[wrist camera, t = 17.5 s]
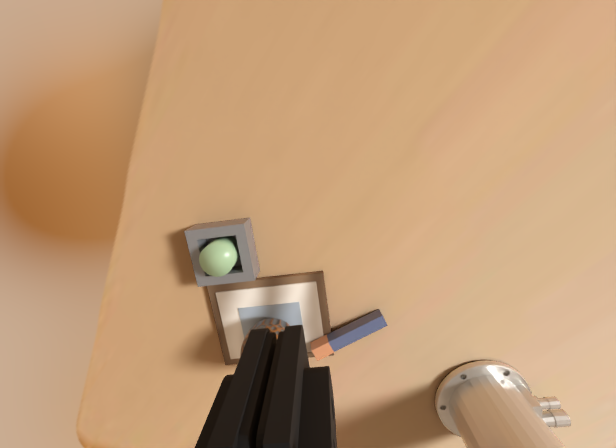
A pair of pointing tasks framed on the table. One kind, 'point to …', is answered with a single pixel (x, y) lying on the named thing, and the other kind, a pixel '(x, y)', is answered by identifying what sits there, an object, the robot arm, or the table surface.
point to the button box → (243, 234)
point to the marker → (347, 334)
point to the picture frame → (269, 308)
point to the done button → (219, 256)
